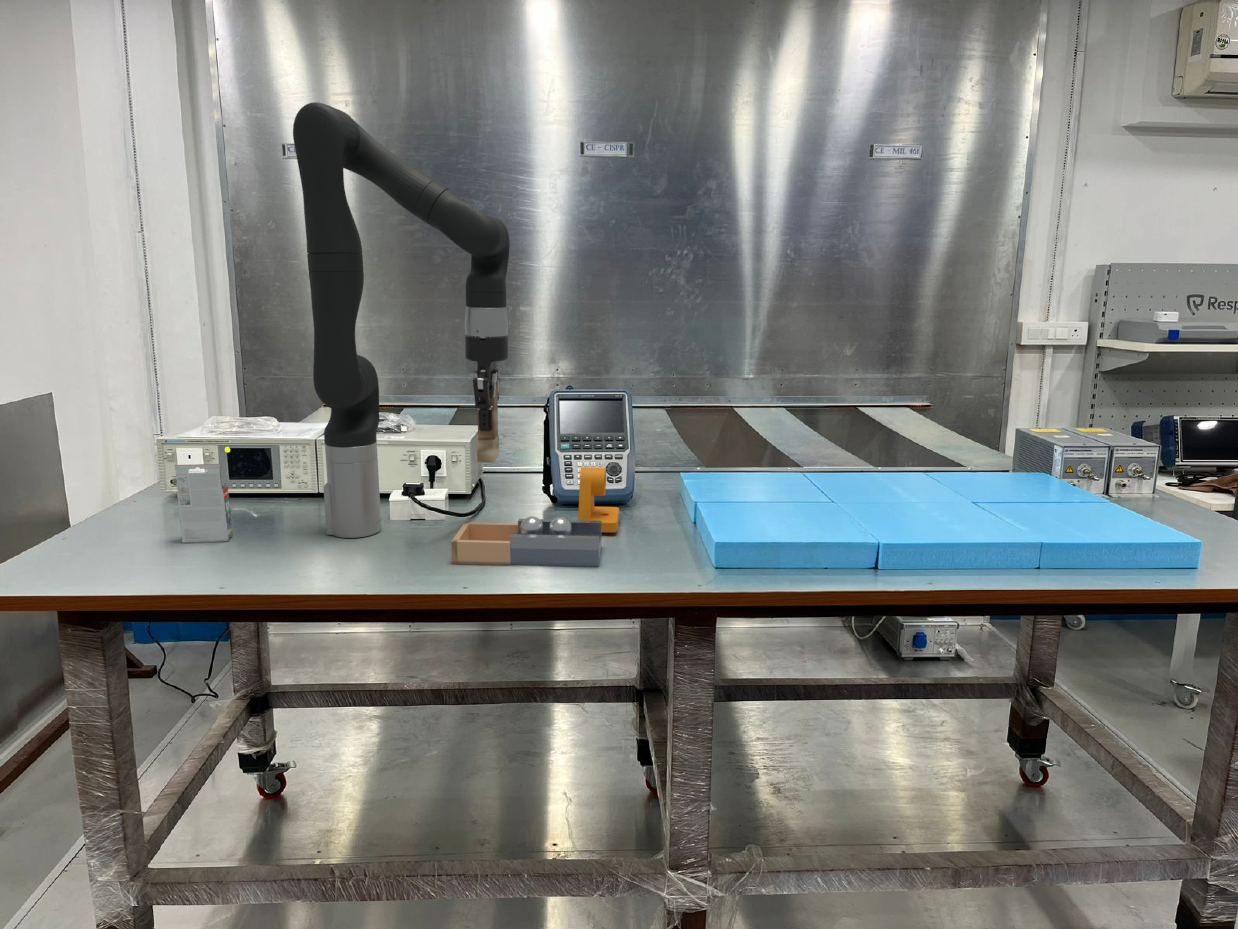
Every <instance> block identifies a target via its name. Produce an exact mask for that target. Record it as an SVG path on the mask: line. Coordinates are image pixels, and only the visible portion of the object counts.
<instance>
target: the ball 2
mask: <svg viewBox="0 0 1238 929" xmlns="http://www.w3.org/2000/svg"><path fill="white" fill-rule="evenodd" d="M569 520H570V519H567V518H566V517H563V516H562V517H561V516H559V517H556V518H553V520H552V521H551V523H550V525H549V532H550V534H551V535H570V534H571V531H572V526H571V523H570V522H569Z"/></svg>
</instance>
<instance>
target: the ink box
mask: <svg viewBox="0 0 1238 929" xmlns="http://www.w3.org/2000/svg"><path fill="white" fill-rule="evenodd" d="M196 468H198V469H200V470H201V469H206V470H207V471H206V472H189V470H195V469H196ZM174 470H175V479H176V489H177V491H176V498H177V506H178V514H179V516H178V517H179V524H180V532H181V541H182V543H183V544H197V543H198V544H200V543H203V544H204V543H222V542H229V541H230V539H231V538H233V534H234V533H233V523H232V515H231V514H232V513H231V511H232V510H231V505H230V495H229V494H230V493H229V485H227V484H226V485H223V484H222V475H221V463H204V464H203V463H202V464H200V463H199V464H194V463H193V464H175V465H174Z"/></svg>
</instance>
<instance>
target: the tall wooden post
mask: <svg viewBox="0 0 1238 929" xmlns="http://www.w3.org/2000/svg"><path fill="white" fill-rule="evenodd" d="M491 389H492V388H491ZM490 392H491V390H489V393H490ZM481 402H486V398H481ZM498 402H499V399H498V394H497V382H496V389H495V397H493V398H492V406H493V409H492V430H491V431H480V430H479V410H478V409H477V440H476V449H477V450H476V455H477V456H476V457H477V459H476V460H477V461H476V462H477V463H492V464H493V463H494V464H495V462H496V460H498V458H499V457H500V435H499V415H498V414H499V411H498V409H499V407H498V406H499V405H498Z"/></svg>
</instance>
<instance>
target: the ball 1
mask: <svg viewBox="0 0 1238 929" xmlns="http://www.w3.org/2000/svg"><path fill="white" fill-rule="evenodd" d="M523 519H524V520H523V522H522V523H521V527H520V529H521V533H522V534H526V535H541V534H542V532H543V523H542V522H541V520H540V519H541V518H539V517H536V516H527V517H525V518H523Z"/></svg>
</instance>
